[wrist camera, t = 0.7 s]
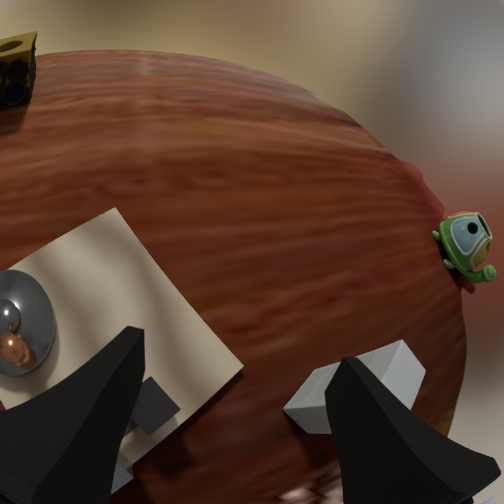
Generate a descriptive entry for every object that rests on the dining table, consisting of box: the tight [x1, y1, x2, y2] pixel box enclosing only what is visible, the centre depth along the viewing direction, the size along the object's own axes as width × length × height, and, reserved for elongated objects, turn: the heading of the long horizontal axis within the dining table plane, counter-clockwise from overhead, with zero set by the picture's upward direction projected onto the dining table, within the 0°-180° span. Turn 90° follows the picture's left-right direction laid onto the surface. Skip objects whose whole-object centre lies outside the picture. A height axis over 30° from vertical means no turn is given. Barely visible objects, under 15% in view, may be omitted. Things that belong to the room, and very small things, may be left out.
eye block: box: [111, 451, 134, 494], centre depth 14 cm, size 3×6×5 cm, turn 46°
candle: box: [0, 32, 37, 110], centre depth 25 cm, size 10×10×10 cm
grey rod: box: [123, 376, 181, 438], centre depth 15 cm, size 12×3×4 cm, turn 136°
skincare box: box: [283, 340, 426, 434], centre depth 22 cm, size 6×4×12 cm
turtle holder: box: [432, 211, 497, 284], centre depth 50 cm, size 12×18×12 cm
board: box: [0, 208, 243, 464], centre depth 20 cm, size 20×20×1 cm
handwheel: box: [0, 270, 56, 376], centre depth 15 cm, size 9×9×5 cm
